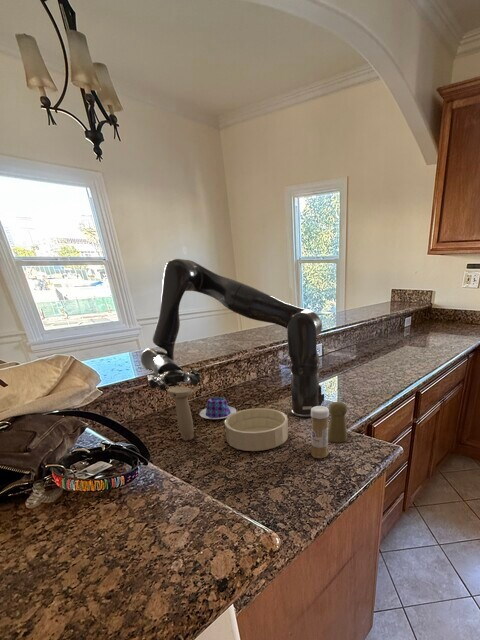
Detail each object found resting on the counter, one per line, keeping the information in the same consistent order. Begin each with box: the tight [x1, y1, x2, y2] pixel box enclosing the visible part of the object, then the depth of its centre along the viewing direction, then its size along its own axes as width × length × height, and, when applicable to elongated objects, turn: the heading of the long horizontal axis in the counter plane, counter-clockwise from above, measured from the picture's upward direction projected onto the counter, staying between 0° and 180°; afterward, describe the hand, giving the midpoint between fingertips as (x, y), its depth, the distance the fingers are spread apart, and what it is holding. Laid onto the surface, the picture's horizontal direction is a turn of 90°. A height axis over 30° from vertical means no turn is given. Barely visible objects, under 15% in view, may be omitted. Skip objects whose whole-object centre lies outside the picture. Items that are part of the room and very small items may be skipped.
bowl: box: [224, 407, 289, 452], centre depth 102 cm, size 18×18×6 cm
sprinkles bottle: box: [310, 405, 330, 459], centre depth 92 cm, size 5×5×13 cm
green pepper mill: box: [328, 401, 348, 443], centre depth 102 cm, size 6×6×11 cm
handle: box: [166, 386, 195, 442], centre depth 99 cm, size 5×6×15 cm
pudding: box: [199, 396, 237, 420], centre depth 118 cm, size 12×12×5 cm
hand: (180, 385), depth 101 cm, fingers open, 8 cm apart
